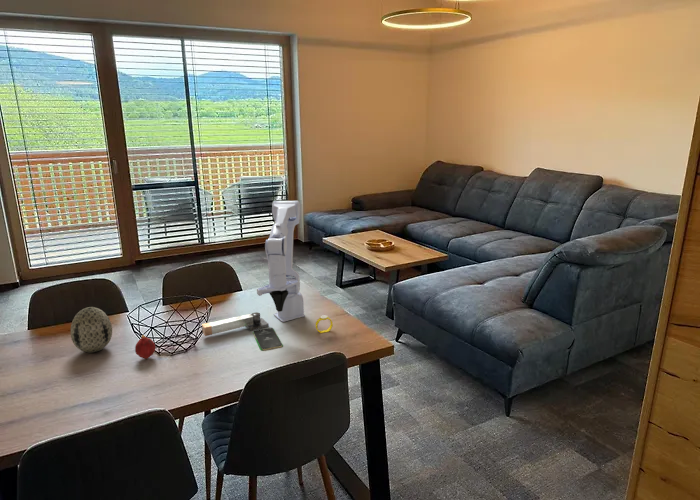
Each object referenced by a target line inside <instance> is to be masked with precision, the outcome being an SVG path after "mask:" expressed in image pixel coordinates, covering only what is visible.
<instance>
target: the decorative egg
mask: <svg viewBox="0 0 700 500" xmlns="http://www.w3.org/2000/svg"><path fill="white" fill-rule="evenodd" d="M112 336H113V326H112V322H111V320H110V317H109V316H108V315H107V314H106V312H105V311H103V310H102V309H100V308H98V307H95V306H89V307H85V308H84V307H83V308H82V309H81V310H79V311H78V312H76V314H75V316H74V317H73V319H72V322H71V325H70V338H71V342H72V343H73V345H74V346H75V347H76V348H77V349H78V350H79V351H82V352H85V353H90V354H91V353H96V352H99V351H101V350H103V349H105V348H106V347H107V346H108V345H109V343H110V341H111V339H112Z"/></svg>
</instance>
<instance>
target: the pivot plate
mask: <svg viewBox="0 0 700 500" xmlns="http://www.w3.org/2000/svg"><path fill="white" fill-rule="evenodd" d="M260 320H261V322H260V323H258V324H253V325H249V326H245V328H246V329H248V331H249V332H253V331H255V330H260V329H265V328H269V326H270V325H269V322H267V321H266V320H265V319H264V318H262V317H260Z"/></svg>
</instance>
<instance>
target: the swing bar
mask: <svg viewBox="0 0 700 500" xmlns="http://www.w3.org/2000/svg"><path fill="white" fill-rule="evenodd" d="M260 318H261V313H260V312H252V313H247V314H243V315H239V316H234V317H230V318H226V319H221V320H216V321H212V322H206V323H202V324H201V327H202V328H201V329H202V334H203V335H204V337H208V336H212V335H214V334H219V333H222V332H227V331H231V330H236V329H240V328H244V327H245V328H246V326H249V325H253V324H258V323H260V322H261V320H260Z"/></svg>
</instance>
